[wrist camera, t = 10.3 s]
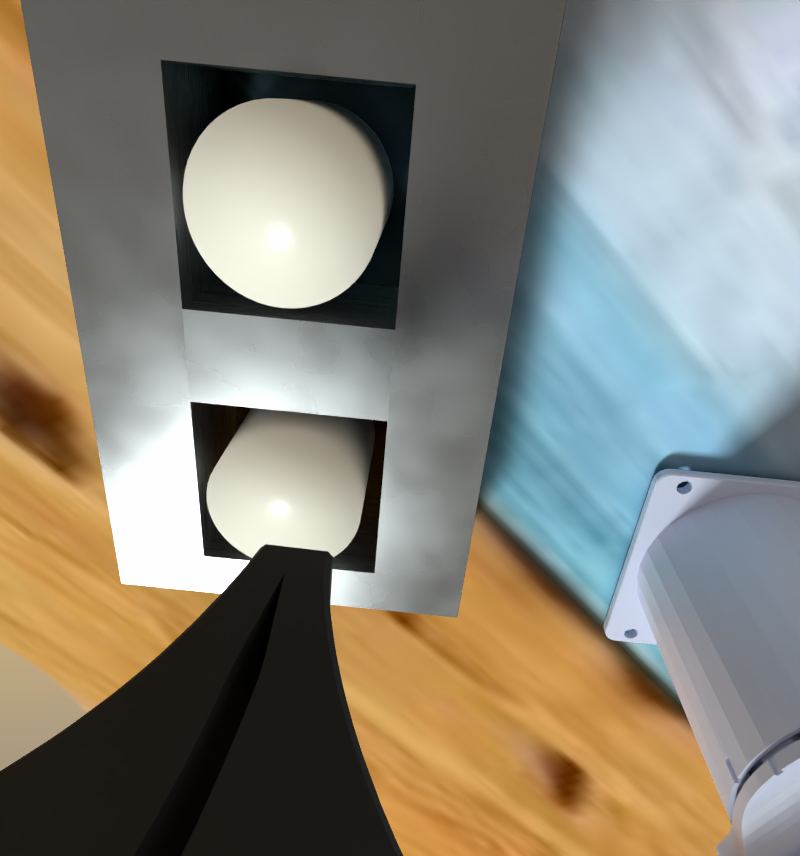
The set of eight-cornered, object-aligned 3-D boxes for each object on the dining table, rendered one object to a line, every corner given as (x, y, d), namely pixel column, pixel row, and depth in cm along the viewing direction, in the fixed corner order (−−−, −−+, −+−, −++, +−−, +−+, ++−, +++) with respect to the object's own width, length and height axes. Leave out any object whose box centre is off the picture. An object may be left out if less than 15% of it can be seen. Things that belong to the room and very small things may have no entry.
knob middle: (400, 108, 16) (388, 109, 12) (387, 271, 18) (374, 316, 14) (237, 92, 16) (174, 88, 12) (243, 257, 18) (190, 298, 14)
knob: (379, 380, 20) (365, 447, 16) (371, 490, 22) (356, 574, 18) (247, 367, 20) (201, 431, 16) (251, 478, 22) (211, 559, 18)
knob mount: (612, -455, 12) (689, -698, 8) (454, 539, 23) (457, 617, 20) (51, -507, 12) (-112, -768, 8) (168, 511, 23) (121, 583, 20)
